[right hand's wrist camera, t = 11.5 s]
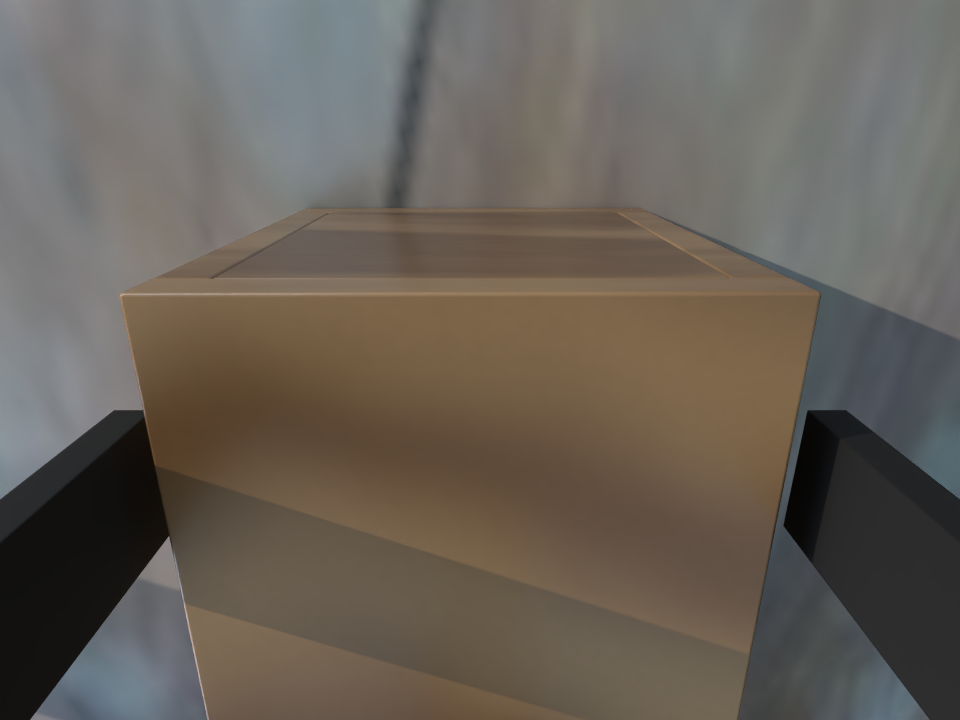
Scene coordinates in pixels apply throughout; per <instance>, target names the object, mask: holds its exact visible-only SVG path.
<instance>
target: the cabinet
mask: <svg viewBox="0 0 960 720" xmlns="http://www.w3.org/2000/svg"><path fill="white" fill-rule="evenodd" d="M820 298H821V293H820V292H818V291H816V290H814V289H812V288H810V287H808V286H806V285H803V284H801V283H799V282H797V281H795V280H793V279H791V278H788V277H786V276H784V275H782V274H780V273H777V272H775V271H773V270H771V269H769V268H767V267H765V266H763V265H760V264H758V263H756V262H754V261H752V260H750V259H748V258H745V257H743V256H741V255H739V254H737V253H735V252H733V251H730V250H728V249H726V248H724V247H722V246H720V245H718V244H716V243H713V242H711V241H709V240H707V239H705V238H703V237H701V236H698V235H696V234H694V233H692V232H690V231H688V230H686V229H683V228H681V227H679V226H677V225H675V224H673V223H671V222H669V221H666V220H664V219H662V218H660V217H658V216H656V215H654V214H651V213H649V212H648V211H646V210H643V209H641V208H306V209H304V210H302V211H300V212H298V213H296V214H294V215H292V216H289V217H287V218H285V219H283V220H281V221H279V222H276V223H274V224H272V225H270V226H268V227H265V228H263V229H261V230H259V231H257V232H255V233H252V234H250V235H248V236H246V237H244V238H241V239H239V240H237V241H235V242H233V243H230V244H228V245H226V246H224V247H222V248H220V249H217V250H215V251H213V252H211V253H209V254H206V255H204V256H202V257H200V258H198V259H196V260H193V261H191V262H189V263H187V264H185V265H182V266H180V267H178V268H176V269H174V270H171V271H169V272H167V273H165V274H163V275H161V276H158V277H156V278H154V279H151V280H149V281H147V282H144V283H142V284H140V285H138V286H136V287H133V288H131V289H129V290H127V291H125V292H123V293H121V294H120V301H121V306H122V311H123V315H124V320H125V325H126V330H127V335H128V339H129V344H130V349H131V354H132V359H133V364H134V368H135V373H136V378H137V383H138V388H139V392H140V397H141V402H142V407H143V412H144V416H145V421H146V426H147V431H148V436H149V441H150V445H151V450H152V455H153V460H154V465H155V469H156V474H157V479H158V484H159V489H160V493H161V498H162V503H163V508H164V513H165V518H166V522H167V527H168V532H169V537H170V542H171V546H172V551H173V556H174V561H175V566H176V570H177V575H178V580H179V585H180V590H181V595H182V599H183V604H184V609H185V614H186V619H187V623H188V628H189V633H190V638H191V643H192V647H193V652H194V657H195V662H196V667H197V672H198V676H199V681H200V686H201V691H202V696H203V700H204V705H205V710H206V715H207V720H738V716H739V711H740V705H741V700H742V695H743V690H744V685H745V680H746V675H747V670H748V665H749V660H750V655H751V649H752V644H753V639H754V634H755V629H756V624H757V619H758V614H759V609H760V604H761V599H762V593H763V588H764V583H765V578H766V573H767V568H768V563H769V558H770V553H771V548H772V543H773V538H774V532H775V527H776V522H777V517H778V512H779V507H780V502H781V497H782V492H783V487H784V482H785V476H786V471H787V466H788V461H789V456H790V451H791V446H792V441H793V436H794V431H795V426H796V420H797V415H798V410H799V405H800V400H801V395H802V390H803V385H804V380H805V375H806V370H807V365H808V359H809V354H810V349H811V344H812V339H813V334H814V329H815V324H816V319H817V314H818V309H819V303H820Z"/></svg>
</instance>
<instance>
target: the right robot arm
mask: <svg viewBox="0 0 960 720" xmlns="http://www.w3.org/2000/svg"><path fill="white" fill-rule="evenodd" d="M784 527H785V528H786V530H787V531H788V532H789V534H790V535H791V536H792V538H793V539H794V540H795V542H796V543H797V544H798V546H799V547H800V548H801V550H802V551H803V552H804V554H805V555H806V556H807V558H808V559H809V560H810V562H811V563H812V564H813V566H814V567H815V568H816V569H817V571H818V572H819V573H820V575H821V576H822V577H823V579H824V580H825V581H826V583H827V584H828V585H829V587H830V588H831V589H832V591H833V592H834V593H835V595H836V596H837V597H838V599H839V600H840V601H841V603H842V604H843V605H844V607H845V608H846V609H847V611H848V612H849V613H850V614H851V616H852V617H853V618H854V620H855V621H856V622H857V624H858V625H859V626H860V628H861V629H862V630H863V632H864V633H865V634H866V636H867V637H868V638H869V640H870V641H871V642H872V644H873V645H874V646H875V648H876V649H877V650H878V652H879V653H880V654H881V656H882V657H883V658H884V660H885V661H886V662H887V663H888V665H889V666H890V667H891V669H892V670H893V671H894V673H895V674H896V675H897V677H898V678H899V679H900V681H901V682H902V683H903V685H904V686H905V687H906V689H907V690H908V691H909V693H910V694H911V695H912V697H913V698H914V699H915V701H916V702H917V703H918V705H919V706H920V707H921V709H922V710H923V711H924V712H925V714H926V715H927V716H928V718H929V719H930V720H960V499H958V498H957V497H956V496H955V495H953V494H952V493H951V492H949V491H948V490H947V489H946V488H944V487H943V486H942V485H941V484H939V483H938V482H937V481H935V480H934V479H933V478H932V477H930V476H929V475H928V474H926V473H925V472H924V471H923V470H921V469H920V468H919V467H918V466H916V465H915V464H914V463H912V462H911V461H910V460H909V459H907V458H906V457H905V456H903V455H902V454H901V453H900V452H898V451H897V450H896V449H895V448H893V447H892V446H891V445H889V444H888V443H887V442H886V441H884V440H883V439H882V438H881V437H879V436H878V435H877V434H875V433H874V432H873V431H872V430H870V429H869V428H868V427H866V426H865V425H864V424H863V423H861V422H860V421H859V420H858V419H856V418H855V417H854V416H852V415H851V414H850V413H849V412H847V411H846V410H808V411H807V416H806V420H805V425H804V430H803V435H802V440H801V444H800V449H799V454H798V459H797V464H796V468H795V473H794V478H793V483H792V488H791V492H790V497H789V502H788V507H787V511H786V516H785V521H784ZM168 536H169V532H168V527H167V522H166V518H165V513H164V508H163V503H162V498H161V493H160V489H159V484H158V479H157V474H156V469H155V465H154V460H153V455H152V450H151V445H150V441H149V436H148V431H147V426H146V421H145V416H144V412H143V410H114V411H113V412H111V413H110V414H109V415H108V416H106V417H105V418H104V419H102V420H101V421H100V422H99V423H97V424H96V425H95V426H94V427H92V428H91V429H90V430H88V431H87V432H86V433H85V434H83V435H82V436H81V437H79V438H78V439H77V440H76V441H74V442H73V443H72V444H71V445H69V446H68V447H67V448H65V449H64V450H63V451H62V452H60V453H59V454H58V455H57V456H55V457H54V458H53V459H51V460H50V461H49V462H48V463H46V464H45V465H44V466H42V467H41V468H40V469H39V470H37V471H36V472H35V473H34V474H32V475H31V476H30V477H28V478H27V479H26V480H25V481H23V482H22V483H21V484H19V485H18V486H17V487H16V488H14V489H13V490H12V491H11V492H9V493H8V494H7V495H5V496H4V497H3V498H2V499H0V720H30V719H31V718H32V716H33V715H34V714H35V712H36V711H37V710H38V709H39V707H40V706H41V705H42V703H43V702H44V701H45V699H46V698H47V697H48V695H49V694H50V693H51V691H52V690H53V689H54V687H55V686H56V685H57V683H58V682H59V681H60V679H61V678H62V677H63V675H64V674H65V673H66V671H67V670H68V669H69V667H70V666H71V665H72V663H73V662H74V661H75V660H76V658H77V657H78V656H79V654H80V653H81V652H82V650H83V649H84V648H85V646H86V645H87V644H88V642H89V641H90V640H91V638H92V637H93V636H94V634H95V633H96V632H97V630H98V629H99V628H100V626H101V625H102V624H103V622H104V621H105V620H106V618H107V617H108V616H109V614H110V613H111V612H112V611H113V609H114V608H115V607H116V605H117V604H118V603H119V601H120V600H121V599H122V597H123V596H124V595H125V593H126V592H127V591H128V589H129V588H130V587H131V585H132V584H133V583H134V581H135V580H136V579H137V577H138V576H139V575H140V573H141V572H142V571H143V569H144V568H145V567H146V566H147V564H148V563H149V562H150V560H151V559H152V558H153V556H154V555H155V554H156V552H157V551H158V550H159V548H160V547H161V546H162V544H163V543H164V542H165V540H166V539H167V538H168Z"/></svg>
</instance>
